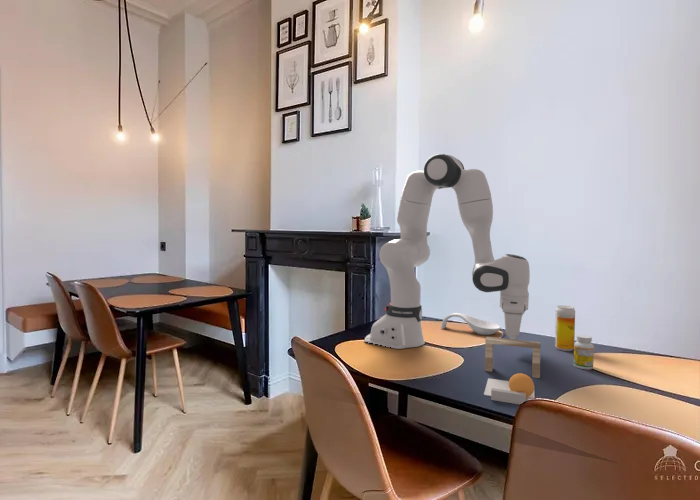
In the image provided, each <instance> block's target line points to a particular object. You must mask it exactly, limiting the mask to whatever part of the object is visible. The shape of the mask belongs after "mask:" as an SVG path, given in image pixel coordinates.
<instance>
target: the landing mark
mask: <svg viewBox="0 0 700 500" xmlns="http://www.w3.org/2000/svg"><path fill="white" fill-rule="evenodd" d="M492 388H495V389H502V390H509V391H511V390H510V388H509V380H505V379H503V380H502V379H495V378H489V377H488V378H487V382H486V385H485V389H484V392H483V396H487V397H491V390H492ZM532 398H536V397H535V390H534V391H533V393H532V394H531V395H530V396H529V397H527V398H526V400H527V399H532Z"/></svg>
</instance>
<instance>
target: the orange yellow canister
mask: <svg viewBox="0 0 700 500" xmlns="http://www.w3.org/2000/svg"><path fill="white" fill-rule="evenodd" d="M554 325H555V326H554V327H555V328H554V346H555V348H556V349H557V350H559V351H564V352H572V351H573V350H574V343H575V334H576V333H575V332H576V331H575V329H576V310H575V307H574V306H571V305H557V306H556V309H555V324H554Z"/></svg>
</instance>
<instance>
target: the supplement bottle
mask: <svg viewBox="0 0 700 500" xmlns="http://www.w3.org/2000/svg"><path fill="white" fill-rule="evenodd" d="M592 341H593V337H592V336H590V335H588V334H577V335H576V341H574V349H573V366H574V367H575V368H577V369H581V370H593V368H594V357H595V356H594V355H595V346H594V344H593V343H592Z"/></svg>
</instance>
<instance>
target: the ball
mask: <svg viewBox="0 0 700 500" xmlns="http://www.w3.org/2000/svg"><path fill="white" fill-rule="evenodd" d="M508 381H509V388H510V390H511V391H515V392H522V393H526V398H527V397H529V396H530V395H531V394H532V393H533V391H534V392H535V383H534V381H533V379H532V378H531V377H530V376H529V375H527V374H525V373H521V372H520V373H515V374H513V375H512V376H510V379H508Z"/></svg>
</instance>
